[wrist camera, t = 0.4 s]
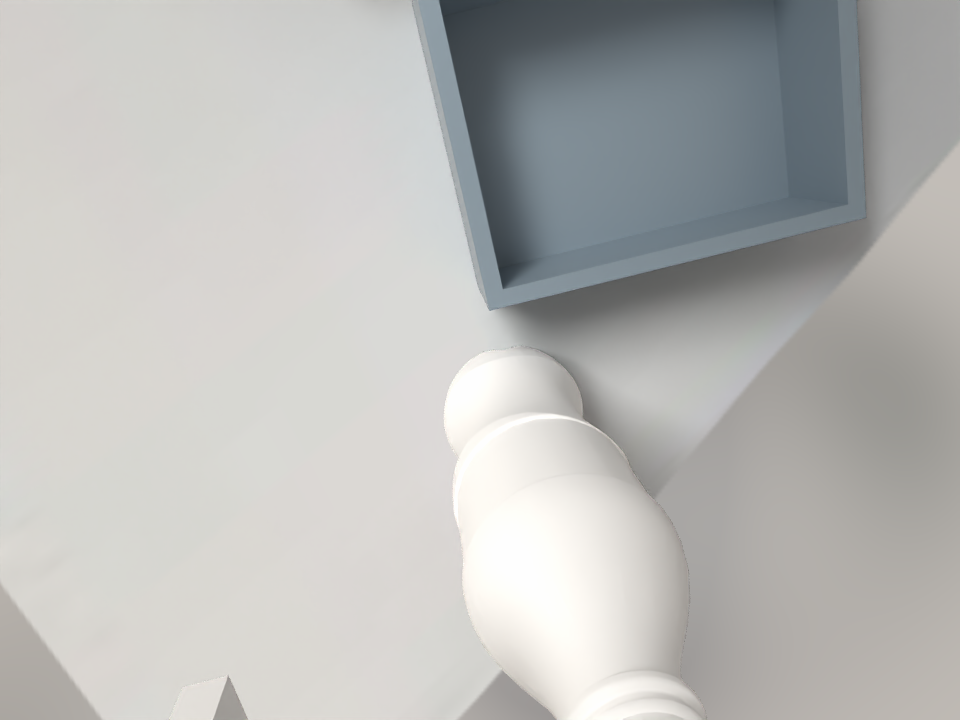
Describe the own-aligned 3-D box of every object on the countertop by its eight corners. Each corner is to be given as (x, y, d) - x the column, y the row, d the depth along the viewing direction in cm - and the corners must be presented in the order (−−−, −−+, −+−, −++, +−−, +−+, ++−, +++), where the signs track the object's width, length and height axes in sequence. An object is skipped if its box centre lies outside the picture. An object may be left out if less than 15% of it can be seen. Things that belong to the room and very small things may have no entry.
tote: (412, 5, 31) (412, -24, 26) (778, -82, 32) (850, -128, 26) (478, 286, 35) (489, 310, 30) (799, 207, 36) (866, 217, 31)
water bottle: (563, 323, 36) (841, 651, 13) (575, 443, 39) (832, 913, 15) (432, 345, 36) (466, 721, 12) (452, 464, 38) (514, 978, 15)
